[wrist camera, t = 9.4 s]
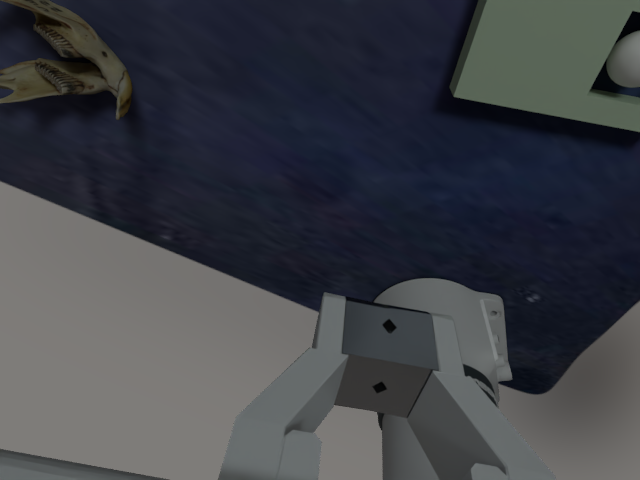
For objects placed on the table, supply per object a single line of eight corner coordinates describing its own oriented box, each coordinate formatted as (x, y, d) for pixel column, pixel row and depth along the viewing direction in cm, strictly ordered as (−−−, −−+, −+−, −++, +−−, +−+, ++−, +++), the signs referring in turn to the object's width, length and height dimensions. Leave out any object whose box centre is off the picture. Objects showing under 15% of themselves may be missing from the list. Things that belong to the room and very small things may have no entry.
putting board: (741, -6, 31) (766, 0, 29) (653, 125, 37) (669, 137, 35) (496, -53, 30) (504, -51, 28) (449, 87, 37) (453, 96, 35)
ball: (663, 80, 30) (603, 61, 31) (643, 103, 33) (590, 85, 35) (695, 27, 29) (633, 11, 31) (671, 56, 33) (616, 41, 34)
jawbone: (155, 156, 38) (31, 173, 31) (70, 77, 43) (-53, 75, 36) (172, 52, 33) (27, 42, 25) (73, -23, 38) (-71, -50, 31)
